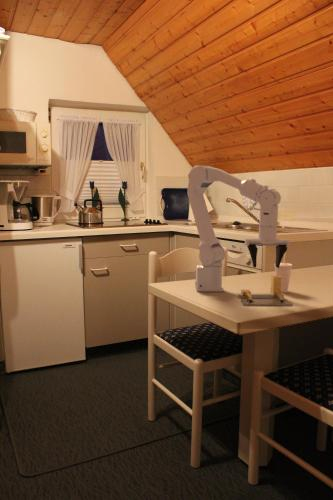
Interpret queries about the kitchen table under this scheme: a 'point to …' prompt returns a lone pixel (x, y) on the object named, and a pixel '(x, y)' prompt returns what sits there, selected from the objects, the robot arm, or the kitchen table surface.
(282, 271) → the smoothie
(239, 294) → the dividers bar
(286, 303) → the flange plate
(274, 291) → the orange block with stem
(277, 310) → the kitchen table surface
